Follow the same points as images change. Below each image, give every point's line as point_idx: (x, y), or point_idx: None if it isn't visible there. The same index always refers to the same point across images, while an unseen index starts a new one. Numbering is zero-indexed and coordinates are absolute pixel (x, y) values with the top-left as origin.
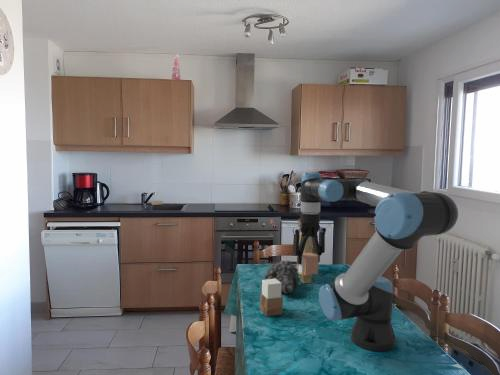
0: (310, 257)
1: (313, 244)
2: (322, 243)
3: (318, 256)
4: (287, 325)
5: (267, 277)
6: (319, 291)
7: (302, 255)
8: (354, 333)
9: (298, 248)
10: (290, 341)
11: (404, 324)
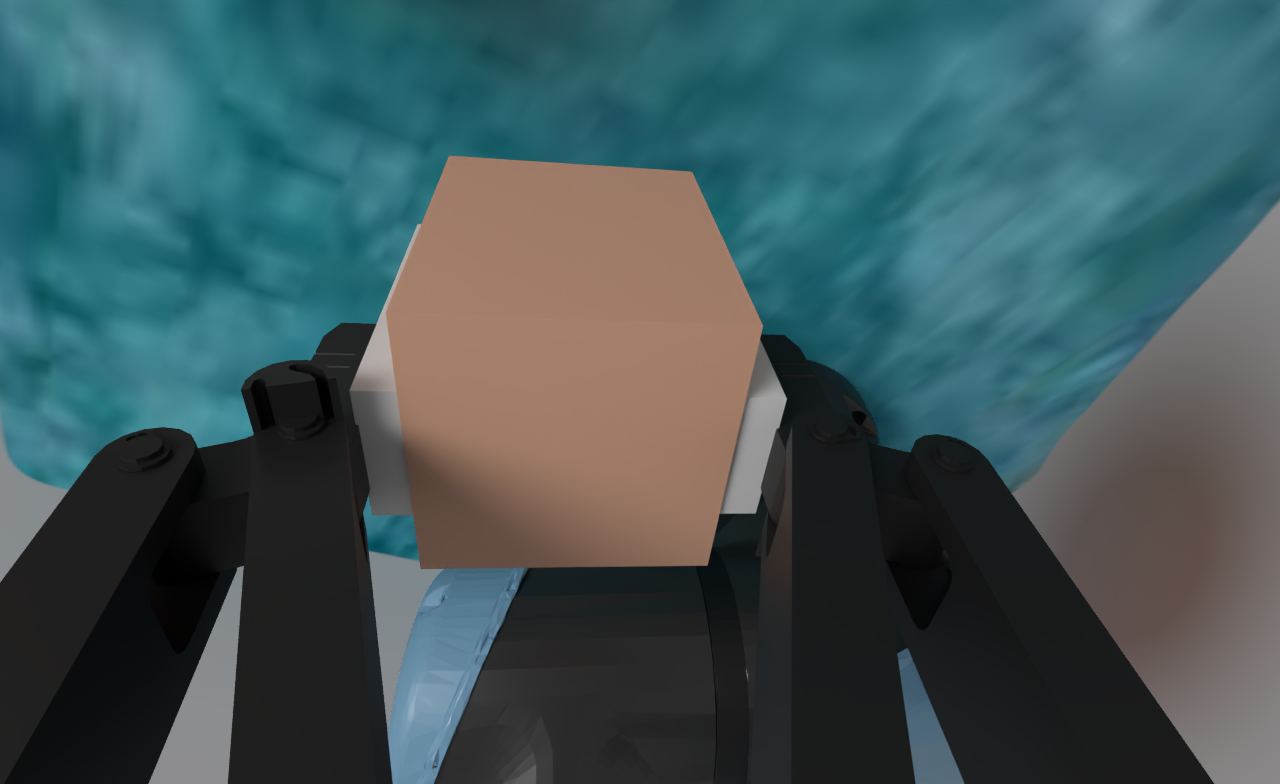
0: (527, 559)
1: (785, 614)
2: (958, 745)
3: (706, 559)
4: (367, 112)
5: None
6: (396, 686)
7: (406, 461)
8: None
9: (176, 692)
10: (309, 321)
11: (1076, 372)
